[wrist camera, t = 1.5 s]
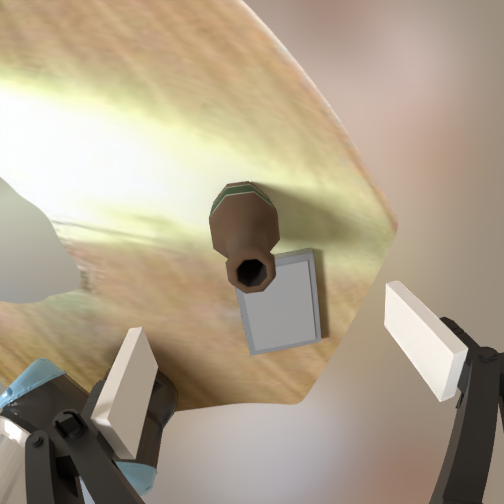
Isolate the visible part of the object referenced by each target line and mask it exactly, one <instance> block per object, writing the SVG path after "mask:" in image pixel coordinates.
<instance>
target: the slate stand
mask: <svg viewBox="0 0 504 504" xmlns="http://www.w3.org/2000/svg"><path fill="white" fill-rule="evenodd" d="M274 256H275V265H276V277H275V279H274V280H273V281H272V282H271V283H270V284H269V286H268V287H267V288H266V289H265V290H264V291H263V292H256V293H249V294H245V293H244V292H242V291H241V290H239V289H238V288H236V287H235V289H236V294H237V298H238V303H239V307H240V312H241V316H242V321H243V325H244V329H245V334H246V338H247V343H248V347H249V351H250V355H256V354H261V353H267V352H272V351H277V350H283V349H288V348H293V347H297V346H302V345H307V344H311V343H316V342H320V341H321V330H320V317H319V306H318V295H317V284H316V275H315V265H314V256H313V251H312V250H311V249H310V248H307V249H301V250H296V251H291V252H285V253H280V254H275V255H274Z"/></svg>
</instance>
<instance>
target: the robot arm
mask: <svg viewBox="0 0 504 504" xmlns="http://www.w3.org/2000/svg"><path fill="white" fill-rule="evenodd" d="M384 325H385V327H386V328H387V330H388V331H389V332H390V334H391V335H392V336H393V338H394V339H395V340H396V341H397V343H398V344H399V346H401V348H402V350H403V351H404V352H405V353H406V355H407V356H408V358H409V359H410V360H411V362H412V363H413V364H414V366H415V367H416V369H417V370H418V371H419V373H420V374H421V376H422V377H423V378H424V380H425V381H426V382H427V384H428V385H429V387H430V388H431V390H432V391H433V392H434V394H435V395H436V397H437V398H438V400H439V401H440V402H442V401H444V400H447V399H449V398H451V397H453V396H454V395H455V392H456V389H457V387H458V388H459V389H460V391H461V395H460V398H459V400H458V403H457V406H456V408H457V413H456V417H455V421H454V426H453V430H452V434H451V438H450V441H449V445H448V449H447V452H446V456H445V459H444V463H443V466H442V469H441V472H440V475H439V478H438V481H437V483H436V486H435V489H434V492H433V494H432V497H431V500H430V502H429V504H483V503H482V498H483V494H484V490H485V486H486V482H487V477H488V472H489V468H490V462H491V457H492V451H493V445H494V438H495V431H496V422H497V413H498V403H499V407H500V413H501V418H502V424H503V430H504V353H498V352H497V351H496V350H495V349H493V348H490V347H480V346H479V345H478V344H477V343H476V342H475V341H474V340H473V339H472V338H471V337H470V336H469V335H468V334H467V333H466V332H465V333H464V330H463V329H461V328H459V326H458V325H457V324H456V323H455V322H454V321H453V320H451V319H448V318H446V317H442V318H437V316H435V314H433V313H432V312H431V311H430V310H429V309H428V308H427V307H426V306H425V305H424V304H423V303H422V302H421V301H420V300H419V299H418V298H417V297H415V295H414V294H412V293H411V292H410V291H409V290H408V289H407V288H406V287H405V286H404V285H403V284H402V283H401V282H399V281H398V280H397V281H393V282H389V283H386V301H385V323H384ZM157 369H158V365H157V362H156V360H155V358H154V355H153V353H152V350H151V348H150V345H149V342H148V340H147V337H146V335H145V332H144V329H143V327H138V328H130V329H129V331H128V333H127V335H126V338H125V340H124V342H123V344H122V346H121V348H120V351H119V353H118V355H117V357H116V359H115V362H114V364H113V366H112V367H111V368H110V369H109V370H108V371H107V372H106V374H105V376H104V379H103V380H100V381H99V382H98V383H97V384H96V385H95V386H94V387H93V388H92V391H91V393H88V392H87V391H86V390H85V389H84V388H82V387H81V386H80V385H79V384H78V383H76V382H75V381H74V380H73V379H72V378H71V377H69V376H68V375H67V374H66V372H65V371H62V370H61V369H60V368H58V367H57V366H56V365H55V364H54V363H52V362H51V361H50V360H48V359H46V358H39V359H37V360H35V361H34V362H33V363H32V364H31V365H30V366H29V367H28V368H27V369H26V370H25V371H24V372H23V373H22V374H21V375H20V376H19V377H18V378H17V379H16V380H15V381H14V382H13V383H12V384H11V385H10V387H8V389H7V390H6V391H5V392H4V393H3V394H2V395H1V396H0V408H1V409H3V411H2V412H1V413H0V431H1V432H0V504H85V502H84V498H83V493H82V489H81V484H80V480H82V481H83V483H84V484H85V486H86V488H87V490H88V491H89V493H90V495H91V497H92V499H93V500H94V502H95V504H145V503H144V501H143V500H142V499H141V497H140V496H143V495H145V494H147V493H148V492H149V491H151V489H152V487H153V484H154V480H155V476H156V474H157V470H156V469H157V463H158V456H159V450H160V444H161V438H162V432H163V429H164V427H165V426H166V424H167V423H168V421H169V419H170V418H171V417H172V415H173V414H174V412H175V410H176V406H177V400H178V396H177V391H176V389H175V387H174V385H173V384H172V382H171V381H170V380H169V379H168V378H167V377H166V376H165V375H163V374H162V373H160V372H159V371H157Z"/></svg>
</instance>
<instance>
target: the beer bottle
mask: <svg viewBox="0 0 504 504" xmlns="http://www.w3.org/2000/svg"><path fill="white" fill-rule="evenodd" d="M209 224H210V230H211V236H212V242H213V248H214V249H215V250H216V251H218V252H219V253H220V254H222V255H223V256H225V257H226V258H228V260H227V261H226V268H227V274H228V280H229V282H230V283H231V284H232V285H233V286H235V287H236V288H238V289H239V290H241V291H242V292H244V293H245V294H249V293H256V292H263V291H264V290H265V289H266V288H267V287H268V286H269V284H270V283H271V282H272V281H273V280H274V279H275V277H276V265H275V256H274V255H273V254H271V253H270V251H271V250H272V248H273V247H274V246H275V245H276V244H277V242H278V241H279V240H280V237H279V227H278V217H277V211H276V208H275V207H274V205H273V204H272V202H271V201H270V200H269V198H268V197H267V195H265V194H264V193H263V192H262V191H260V190H259V189H258V188H256V187H255V186H254V185H252V184H251V183H250V182H249V181H246V182H239V183H231V184H227V185H226V186H225V188H224V189H223V190H222V192H221V193H220V194H219V195H218V197H217V198H216V199H215V201H214V202H213V205H212V209H211V212H210V216H209Z"/></svg>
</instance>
